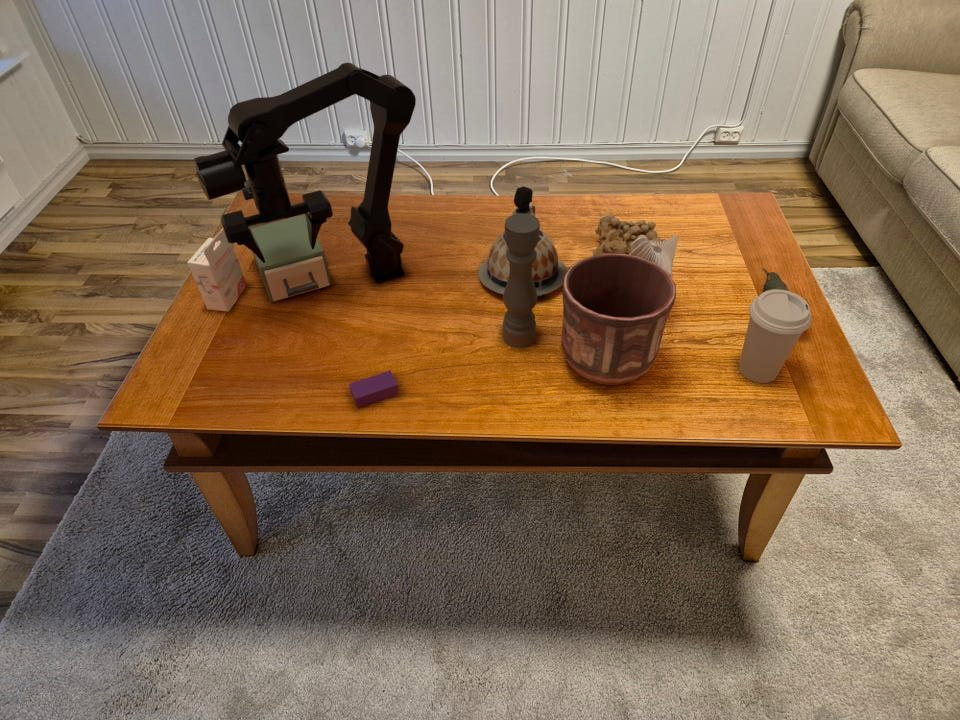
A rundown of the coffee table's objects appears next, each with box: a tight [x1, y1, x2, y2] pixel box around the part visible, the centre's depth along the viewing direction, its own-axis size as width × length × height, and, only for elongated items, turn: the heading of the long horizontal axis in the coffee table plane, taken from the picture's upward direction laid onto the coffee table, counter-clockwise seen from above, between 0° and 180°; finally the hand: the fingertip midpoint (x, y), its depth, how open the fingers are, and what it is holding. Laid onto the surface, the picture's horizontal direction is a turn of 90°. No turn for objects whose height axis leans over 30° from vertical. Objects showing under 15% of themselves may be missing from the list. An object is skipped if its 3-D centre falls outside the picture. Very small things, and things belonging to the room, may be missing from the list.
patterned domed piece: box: [477, 185, 568, 299], centre depth 130 cm, size 18×18×20 cm
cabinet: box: [250, 214, 332, 303], centre depth 136 cm, size 15×13×9 cm
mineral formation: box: [592, 213, 667, 259], centre depth 138 cm, size 8×13×15 cm
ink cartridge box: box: [186, 227, 248, 313], centre depth 128 cm, size 9×5×15 cm, turn 168°
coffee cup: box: [738, 289, 812, 384], centre depth 111 cm, size 10×10×15 cm
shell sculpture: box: [629, 234, 679, 279], centre depth 122 cm, size 8×8×18 cm
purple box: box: [348, 369, 400, 409], centre depth 113 cm, size 8×4×2 cm, turn 115°
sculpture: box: [761, 267, 790, 293], centre depth 126 cm, size 5×19×5 cm, turn 3°
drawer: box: [264, 256, 330, 302], centre depth 133 cm, size 18×11×7 cm, turn 25°
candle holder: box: [502, 213, 541, 349], centre depth 115 cm, size 6×6×25 cm
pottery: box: [560, 254, 677, 386], centre depth 112 cm, size 18×18×18 cm
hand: (288, 254), depth 123 cm, fingers open, 9 cm apart
